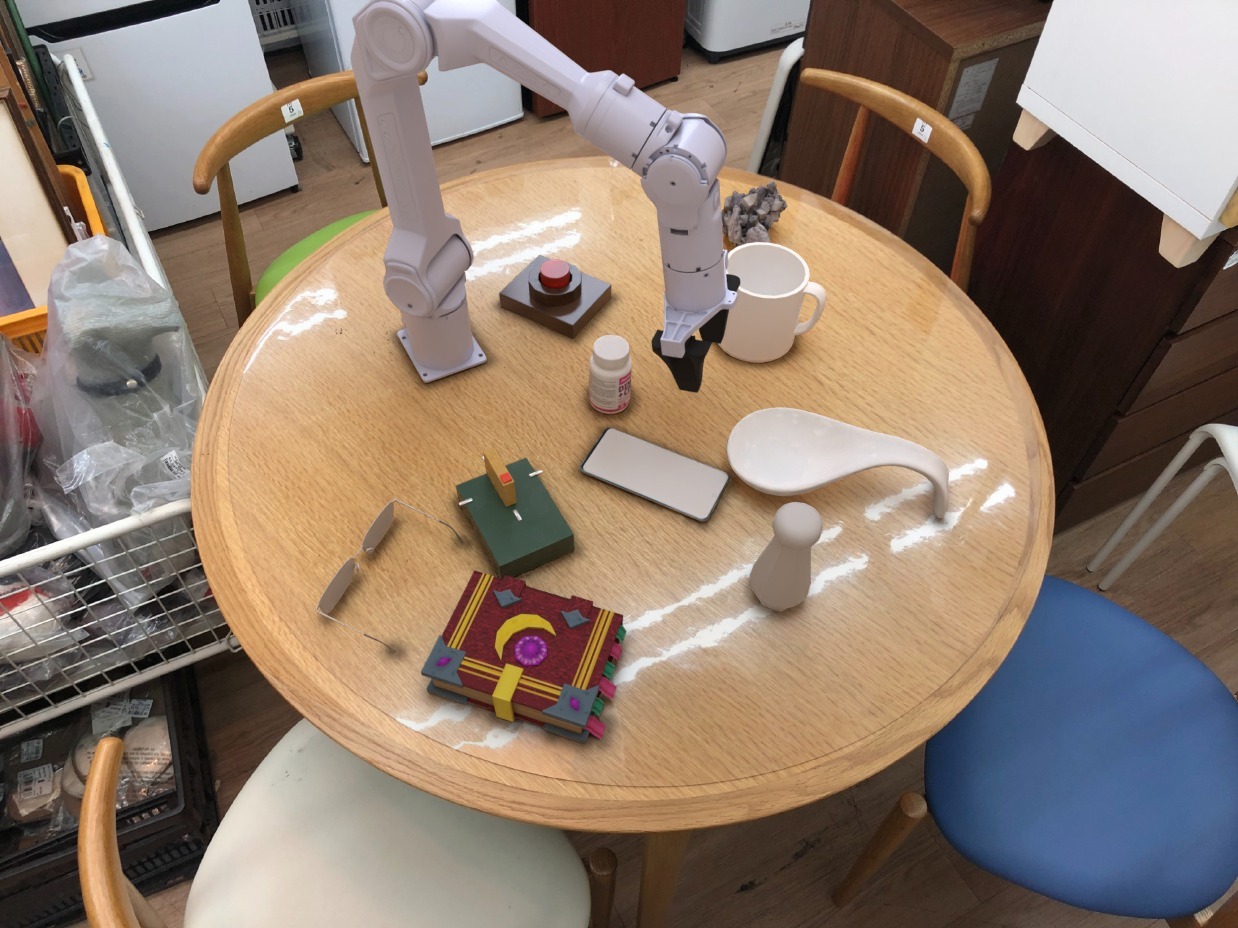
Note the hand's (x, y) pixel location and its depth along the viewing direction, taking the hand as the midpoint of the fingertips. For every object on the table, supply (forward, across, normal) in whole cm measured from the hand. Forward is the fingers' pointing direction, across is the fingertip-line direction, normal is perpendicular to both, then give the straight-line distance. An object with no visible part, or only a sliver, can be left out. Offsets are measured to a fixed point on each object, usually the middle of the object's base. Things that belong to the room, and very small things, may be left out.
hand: (701, 364), depth 92 cm
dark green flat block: (+8, -19, +15) cm, 25 cm away
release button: (+3, +14, +24) cm, 28 cm away
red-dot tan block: (+5, -17, +16) cm, 24 cm away
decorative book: (+10, -33, +6) cm, 35 cm away
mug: (+11, +18, -2) cm, 21 cm away
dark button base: (+7, +14, +24) cm, 29 cm away
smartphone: (+10, -8, +3) cm, 13 cm away
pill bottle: (+9, +1, +12) cm, 15 cm away
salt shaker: (+13, -17, -12) cm, 25 cm away
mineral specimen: (+10, +35, +6) cm, 37 cm away
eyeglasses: (+7, -30, +22) cm, 38 cm away
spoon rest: (+13, -1, -14) cm, 19 cm away
